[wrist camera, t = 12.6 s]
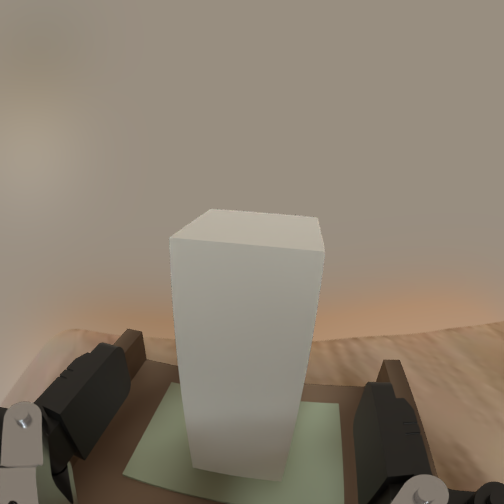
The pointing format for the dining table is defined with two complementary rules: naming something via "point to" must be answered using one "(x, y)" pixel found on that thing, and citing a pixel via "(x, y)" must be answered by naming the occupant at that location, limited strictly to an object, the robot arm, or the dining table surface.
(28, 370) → the dining table surface
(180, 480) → the channel
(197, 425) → the block
